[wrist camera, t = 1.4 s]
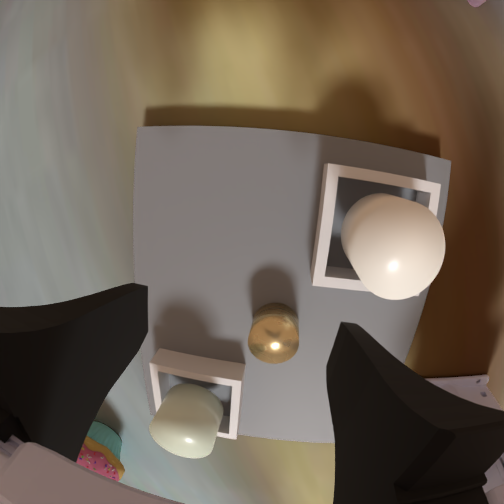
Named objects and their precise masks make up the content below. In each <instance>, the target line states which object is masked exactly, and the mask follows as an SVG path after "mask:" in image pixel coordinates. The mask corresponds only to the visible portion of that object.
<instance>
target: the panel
mask: <svg viewBox="0 0 504 504" xmlns="http://www.w3.org/2000/svg"><path fill="white" fill-rule="evenodd" d="M450 169H451V161H449V160H445V159H442V158H438V157H434V156H430V155H426V154H422V153H418V152H414V151H409V150H405V149H401V148H396V147H391V146H386V145H381V144H376V143H371V142H365V141H359V140H354V139H347V138H341V137H334V136H327V135H320V134H312V133H304V132H295V131H285V130H274V129H261V128H246V127H225V126H149V127H137V139H136V152H135V169H134V195H133V251H134V277H135V283H137V284H141V285H145V286H148V333H147V335H146V337H145V339H144V341H143V343H142V345H141V347H140V348H141V356H142V364H143V371H144V378H145V385H146V391H147V397H148V403H149V408H150V414H151V415H154V416H155V415H156V413H157V411H158V409H159V407H160V405H161V404H162V402H163V400H164V398H165V396H166V395H167V393H168V391H169V389H170V388H172V387H173V386H175V385H178V384H185V383H187V384H194V385H198V386H201V387H203V388H206V389H207V390H209V391H211V392H212V393H213V394H215V395H216V396H217V397H218V398H219V400H220V401H221V403H222V405H223V408H224V412H223V416H222V420H221V423H220V426H219V429H218V433H217V436H219V437H224V438H230V439H236V438H237V434H240V435H246V436H253V437H261V438H269V439H278V440H288V441H301V442H318V443H335V439H334V431H333V424H332V418H331V412H330V406H329V400H328V393H327V384H326V365H327V362H328V359H329V356H330V353H331V350H332V347H333V344H334V341H335V338H336V335H337V332H338V329H339V326H340V323H341V322H349V323H356V324H358V325H359V326H361V327H362V328H363V329H364V330H365V331H366V332H368V333H369V334H370V335H371V336H372V337H373V338H374V339H375V340H376V341H377V342H379V343H380V344H381V345H382V346H383V347H384V348H385V349H386V350H387V351H389V352H390V353H391V354H392V355H393V356H394V357H396V358H397V359H398V360H399V361H401V362H402V363H403V364H404V362H405V360H406V357H407V354H408V352H409V349H410V346H411V344H412V341H413V338H414V335H415V332H416V329H417V326H418V323H419V320H420V317H421V314H422V310H423V307H424V304H425V300H426V297H427V293H428V289H429V286H430V285H429V286H428V287H426V288H425V289H424V290H423V291H421V292H420V293H418V294H416V295H414V296H412V297H409V298H406V299H401V300H390V299H385V298H381V297H379V296H377V295H375V294H373V293H372V292H371V291H369V290H368V289H367V288H366V287H365V286H364V284H363V283H362V281H361V280H360V278H359V276H358V275H357V273H356V271H355V270H354V268H353V266H352V264H351V263H350V261H349V259H348V258H347V256H346V254H345V252H344V250H343V247H342V242H341V228H342V223H343V221H344V218H345V216H346V214H347V212H348V211H349V209H350V208H351V207H352V206H353V205H354V204H355V203H356V202H357V201H358V200H360V199H361V198H363V197H365V196H368V195H371V194H376V193H385V194H390V195H393V196H397V197H400V198H404V199H407V200H410V201H414V202H417V203H419V204H421V205H423V206H425V207H427V208H428V209H429V210H430V211H431V212H432V213H433V214H434V215H435V216H436V217H437V219H438V220H439V222H440V224H441V226H442V228H443V222H444V216H445V210H446V203H447V196H448V188H449V179H450ZM269 303H282V304H285V305H287V306H289V307H290V308H292V309H293V310H294V311H295V313H296V314H297V317H298V320H299V347H298V350H297V352H296V354H295V355H294V356H293V357H292V358H291V359H289V360H288V361H286V362H283V363H278V364H270V363H266V362H263V361H260V360H259V359H257V358H256V357H255V356H254V355H253V354H252V353H251V351H250V350H249V347H248V337H249V333H250V329H251V325H252V322H253V318H254V315H255V313H256V312H257V310H258V309H259V308H261V307H262V306H264V305H266V304H269Z"/></svg>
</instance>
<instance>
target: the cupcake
mask: <svg viewBox="0 0 504 504" xmlns="http://www.w3.org/2000/svg"><path fill="white" fill-rule="evenodd" d="M121 446H122V442H121V439H120V437H119V436H118V435H117V434H116V433H115V432H114V431H113V430H112V429H111V428H109V427H108V426H106V425H104V424H102V423H100V422H95V421H93V423H92V425H91V427H90V429H89V431H88V433H87V436H86V438H85V441H84V443H83V446H82V448H81V451H80V453H79V456H78V459H77V462H76V463H77V464H79V465H81V466H83V467H85V468H88V469H90V470H92V471H94V472H96V473H98V474H101V475H103V476H105V477H108V478H110V479H112V480H115V481H117V482H118V481H119V480H120V479H121V478H122V476H123V474H124V472H125V469H124V467H123V465H122V463H121V462H120V451H121Z"/></svg>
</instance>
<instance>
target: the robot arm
mask: <svg viewBox="0 0 504 504" xmlns="http://www.w3.org/2000/svg"><path fill="white" fill-rule="evenodd" d="M147 333H148V286H145V285H141V284H137V283H130V284H125V285H121V286H118V287H114V288H111V289H108V290H105V291H101V292H98V293H95V294H92V295H88V296H84V297H81V298H77V299H73V300H69V301H65V302H60V303H54V304H48V305H41V306H29V307H0V504H184V503H180V502H176V501H173V500H169V499H166V498H163V497H159V496H156V495H153V494H150V493H147V492H144V491H141V490H138V489H135V488H133V487H130V486H127V485H125V484H122V483H120V482H117V481H115V480H112V479H110V478H108V477H105V476H103V475H101V474H98V473H96V472H94V471H92V470H90V469H88V468H85V467H83V466H81V465H79V464H77V463H76V462H77V459H78V456H79V453H80V451H81V448H82V446H83V443H84V441H85V438H86V436H87V433H88V431H89V429H90V427H91V425H92V423H93V420H94V418H95V416H96V414H97V412H98V410H99V408H100V407H101V405H102V403H103V401H104V399H105V397H106V396H107V394H108V392H109V391H110V389H111V388H112V387H113V385H114V384H115V382H116V381H117V380H118V378H119V377H120V376H121V374H122V373H123V372H124V370H125V369H126V367H127V366H128V365H129V363H130V362H131V361H132V359H133V358H134V356H135V355H136V354H137V352H138V351H139V349H140V347H141V345H142V343H143V341H144V339H145V337H146V335H147ZM488 380H489V376H488V375H477V376H465V377H450V378H428V379H424V378H423V377H421V376H420V375H418V374H417V373H415V372H414V371H412V370H411V369H410V368H408V367H407V366H406V365H404V364H403V363H402V362H401V361H399V360H398V359H397V358H396V357H394V356H393V355H392V354H391V353H390V352H389V351H387V350H386V349H385V348H384V347H383V346H382V345H381V344H380V343H379V342H377V341H376V340H375V339H374V338H373V337H372V336H371V335H370V334H369V333H368V332H366V331H365V330H364V329H363V328H362V327H361V326H359V325H358V324H356V323H349V322H341V323H340V326H339V329H338V332H337V335H336V338H335V341H334V344H333V347H332V350H331V353H330V356H329V359H328V362H327V365H326V384H327V393H328V400H329V406H330V412H331V418H332V424H333V431H334V439H335V488H334V500H333V504H504V411H503V410H502V408H501V407H500V405H499V404H498V402H497V401H496V399H495V398H494V396H493V395H492V393H491V392H490V390H489V389H488V387H487V386H486V384H487V382H488Z"/></svg>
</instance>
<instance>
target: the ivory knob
mask: <svg viewBox="0 0 504 504" xmlns="http://www.w3.org/2000/svg"><path fill="white" fill-rule="evenodd" d="M341 242H342V247H343V250H344V252H345V254H346V256H347V258H348V259H349V261H350V263H351V264H352V266H353V268H354V270H355V271H356V273H357V275H358V276H359V278H360V280H361V281H362V283H363V284H364V286H365V287H366V288H367V289H368V290H369V291H371V292H372V293H373V294H375V295H377V296H379V297H381V298H385V299H390V300H401V299H406V298H409V297H412V296H414V295H416V294H418V293H420V292H421V291H423V290H424V289H425V288H426V287H428V286H429V285H430V283H431V282H432V281H433V280H434V279H435V277H436V276H437V274H438V272H439V270H440V268H441V266H442V263H443V259H444V255H445V237H444V232H443V229H442V226H441V224H440V222H439V220H438V219H437V217H436V216H435V215H434V214H433V213H432V212H431V211H430V210H429V209H428V208H427V207H425V206H423V205H421V204H419V203H417V202H414V201H410V200H407V199H404V198H400V197H397V196H393V195H390V194H385V193H376V194H371V195H368V196H365V197H363V198H361V199H360V200H358V201H357V202H356V203H355V204H354V205H353V206H352V207H351V208H350V209H349V211H348V212H347V214H346V216H345V218H344V221H343V223H342V228H341Z"/></svg>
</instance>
